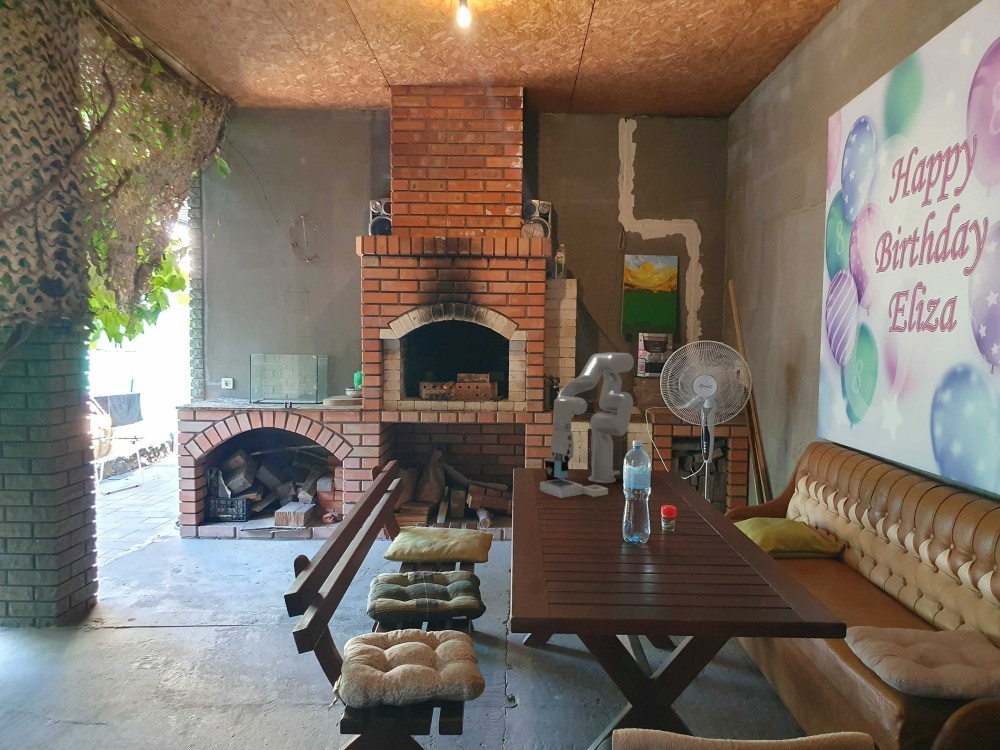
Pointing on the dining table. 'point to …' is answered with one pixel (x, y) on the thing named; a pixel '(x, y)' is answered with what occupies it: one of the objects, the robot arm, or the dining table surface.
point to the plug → (559, 467)
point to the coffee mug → (550, 469)
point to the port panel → (561, 488)
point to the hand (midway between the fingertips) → (561, 469)
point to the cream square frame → (595, 490)
